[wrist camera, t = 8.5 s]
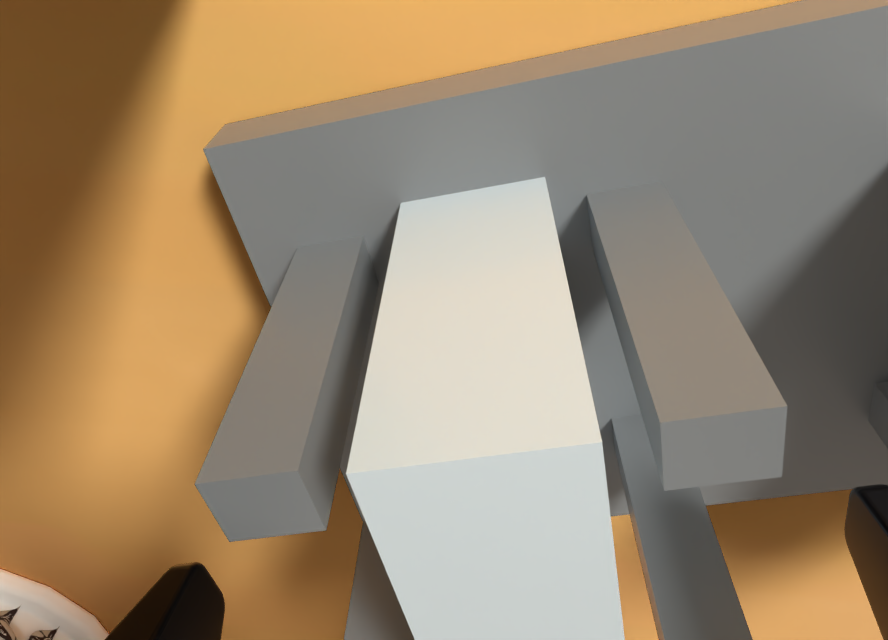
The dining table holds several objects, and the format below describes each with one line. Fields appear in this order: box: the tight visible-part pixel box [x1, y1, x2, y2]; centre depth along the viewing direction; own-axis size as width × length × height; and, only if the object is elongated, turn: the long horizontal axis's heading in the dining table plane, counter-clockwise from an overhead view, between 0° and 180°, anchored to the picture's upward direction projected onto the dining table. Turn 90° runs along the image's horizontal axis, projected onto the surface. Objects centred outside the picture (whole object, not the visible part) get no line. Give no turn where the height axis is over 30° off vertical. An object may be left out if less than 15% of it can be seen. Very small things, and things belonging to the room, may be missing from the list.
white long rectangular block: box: [346, 177, 625, 640], centre depth 11 cm, size 7×2×6 cm, turn 12°
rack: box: [195, 0, 888, 640], centre depth 11 cm, size 10×18×7 cm, turn 102°
